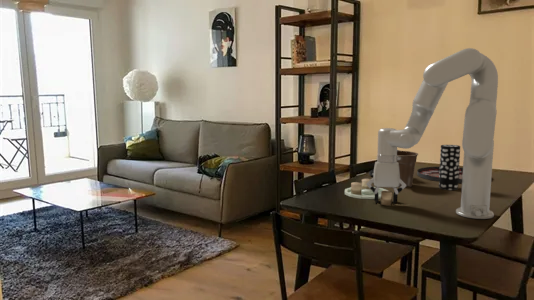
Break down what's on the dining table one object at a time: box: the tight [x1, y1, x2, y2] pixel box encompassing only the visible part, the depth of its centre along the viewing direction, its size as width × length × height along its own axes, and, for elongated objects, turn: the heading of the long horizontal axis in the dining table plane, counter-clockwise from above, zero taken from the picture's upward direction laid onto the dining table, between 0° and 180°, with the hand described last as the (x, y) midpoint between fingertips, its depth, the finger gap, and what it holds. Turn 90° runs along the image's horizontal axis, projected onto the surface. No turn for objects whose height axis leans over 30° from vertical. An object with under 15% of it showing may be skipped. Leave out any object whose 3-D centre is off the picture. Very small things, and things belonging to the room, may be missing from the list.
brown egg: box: [379, 189, 394, 206], centre depth 175 cm, size 4×4×5 cm
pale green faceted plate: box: [344, 186, 389, 200], centre depth 189 cm, size 19×19×2 cm
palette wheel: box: [416, 166, 463, 184], centre depth 230 cm, size 35×35×3 cm
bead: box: [361, 178, 373, 189], centre depth 194 cm, size 4×4×5 cm
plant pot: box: [397, 150, 419, 188], centre depth 208 cm, size 16×16×16 cm
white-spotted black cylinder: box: [438, 144, 461, 191], centre depth 201 cm, size 8×8×20 cm
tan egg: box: [350, 181, 362, 195], centre depth 187 cm, size 4×4×5 cm
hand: (385, 202), depth 175 cm, fingers open, 6 cm apart
